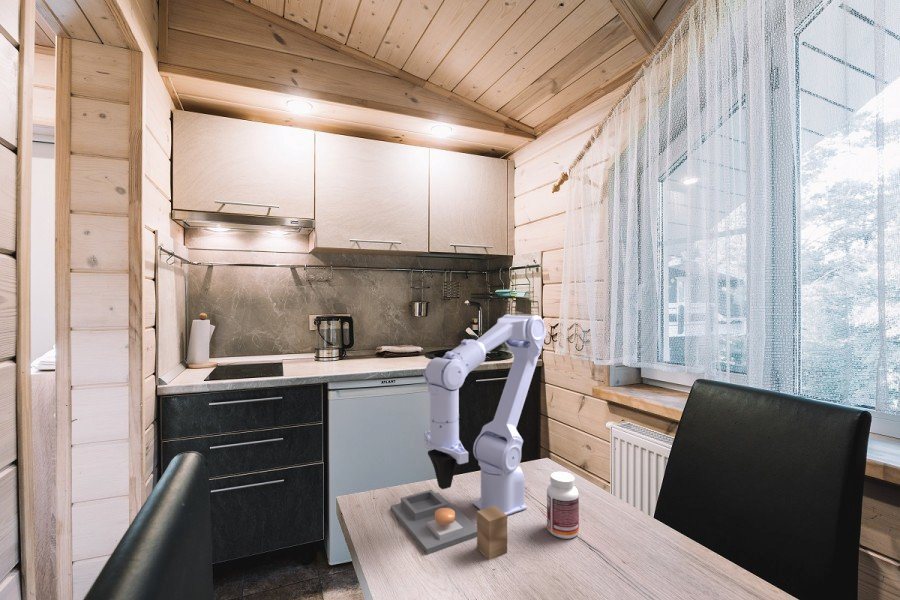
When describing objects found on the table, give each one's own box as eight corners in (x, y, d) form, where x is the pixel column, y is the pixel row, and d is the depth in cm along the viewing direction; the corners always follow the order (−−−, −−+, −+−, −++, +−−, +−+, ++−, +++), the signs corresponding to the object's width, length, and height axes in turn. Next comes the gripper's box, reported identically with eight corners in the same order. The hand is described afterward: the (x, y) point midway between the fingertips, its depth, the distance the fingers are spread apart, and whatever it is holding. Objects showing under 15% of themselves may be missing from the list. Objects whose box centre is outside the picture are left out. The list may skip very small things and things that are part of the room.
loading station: (438, 496, 97) (438, 486, 97) (481, 535, 81) (481, 522, 81) (390, 510, 91) (390, 499, 91) (427, 554, 75) (426, 540, 75)
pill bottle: (585, 533, 82) (585, 478, 82) (564, 543, 78) (564, 486, 78) (561, 519, 87) (561, 467, 87) (540, 528, 84) (540, 474, 84)
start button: (448, 511, 85) (448, 505, 84) (458, 520, 81) (458, 514, 81) (431, 517, 83) (431, 511, 83) (440, 526, 79) (440, 520, 79)
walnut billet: (494, 541, 79) (494, 505, 79) (507, 553, 76) (507, 515, 76) (477, 548, 77) (477, 511, 77) (489, 560, 74) (489, 521, 74)
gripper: (410, 412, 86) (411, 477, 86) (444, 432, 73) (444, 508, 73) (440, 408, 89) (440, 470, 90) (477, 426, 77) (477, 498, 77)
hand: (444, 487), depth 82 cm, fingers closed
